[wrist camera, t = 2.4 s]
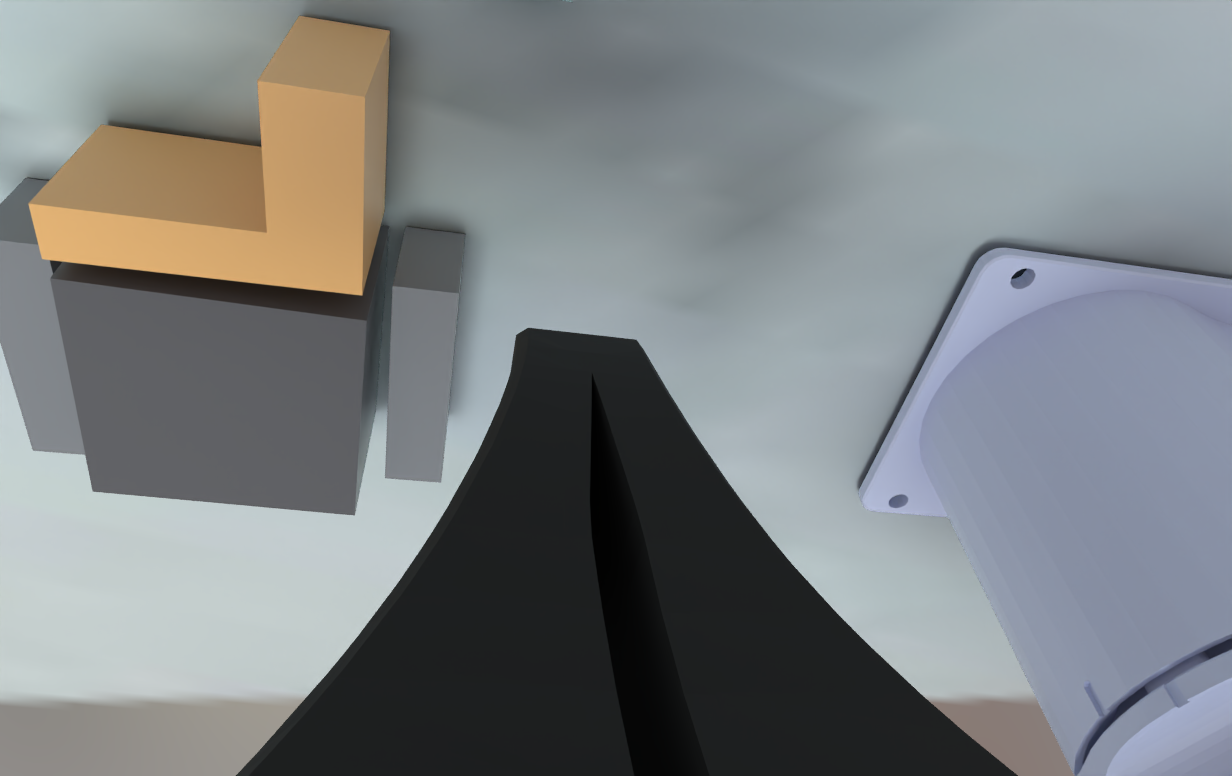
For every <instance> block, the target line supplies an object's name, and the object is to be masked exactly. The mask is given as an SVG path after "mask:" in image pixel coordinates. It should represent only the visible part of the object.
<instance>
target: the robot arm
mask: <svg viewBox="0 0 1232 776" xmlns="http://www.w3.org/2000/svg"><path fill="white" fill-rule="evenodd" d="M1026 268H1027V269H1026ZM1021 269H1026V271H1025V272H1024V273H1023V275H1022V276H1020V277H1018V278H1016V279H1011V278H1012V276H1013V275H1014V274H1015V273H1016V272H1017V271H1019V270H1021ZM858 494H859V497H860V500H861V502H862V505H863V507H864V508H866V509H867V510H870V511H875V512H888V513H900V514H913V515H926V516H938V517H948V518H949V520H950V522H951V524H952V526H953V528H954V530H955V532H956V534H957V536H958V538H959V540H960V542H961V545H962V547H963V549H964V551H965V553H966V555H967V557H968V559H969V561H970V563H971V565H972V567H973V569H974V571H975V573H976V575H977V577H978V579H979V581H980V583H981V586H982V588H983V590H984V592H985V594H986V596H987V598H988V600H989V602H990V604H991V606H992V608H993V610H994V612H995V614H996V616H997V618H998V620H999V622H1000V624H1001V627H1002V629H1003V631H1004V633H1005V635H1006V637H1007V639H1008V641H1009V643H1010V645H1011V647H1012V649H1013V651H1014V653H1015V655H1016V657H1017V659H1018V661H1019V663H1020V665H1021V668H1022V670H1023V672H1024V674H1025V676H1026V678H1027V680H1028V682H1029V684H1030V686H1031V688H1032V690H1033V692H1034V694H1035V696H1036V698H1037V700H1038V702H1039V704H1040V706H1041V709H1042V711H1043V713H1044V715H1045V717H1046V719H1047V721H1048V723H1049V725H1050V727H1051V729H1052V731H1053V733H1054V735H1055V737H1056V739H1057V741H1058V743H1059V745H1060V747H1061V749H1062V752H1063V754H1064V755H1065V758H1066V760H1067V762H1068V764H1069V766H1070V768H1071V770H1072V772H1073V774H1074V776H1232V279H1226V278H1219V277H1212V276H1205V275H1197V274H1190V273H1183V272H1176V271H1169V270H1162V269H1155V268H1148V267H1140V266H1133V265H1126V264H1119V263H1112V262H1105V261H1098V260H1091V259H1083V258H1076V257H1069V256H1062V255H1055V254H1048V253H1041V252H1034V251H1026V250H1019V249H1012V248H996V249H993V250H991V251H988V252H987V253H985V254H984V255H983V256H981V257H980V258H979V260H978V261H977V262H976V264H975V265H974V267H973V269H972V271H971V273H970V275H969V277H968V279H967V281H966V283H965V284H964V286H963V288H962V290H961V292H960V294H959V296H958V298H957V300H956V302H955V304H954V306H953V308H952V310H951V312H950V314H949V316H948V318H947V320H946V321H945V323H944V325H943V327H942V329H941V331H940V333H939V335H938V337H937V339H936V341H935V343H934V345H933V347H932V349H931V351H930V353H929V355H928V357H927V359H926V360H925V362H924V364H923V366H922V368H921V370H920V372H919V374H918V376H917V378H916V380H915V382H914V384H913V386H912V388H911V390H910V392H909V394H908V396H907V397H906V399H905V401H904V403H903V405H902V407H901V409H900V411H899V413H898V415H897V417H896V419H895V421H894V423H893V425H892V427H891V429H890V431H889V433H888V435H887V436H886V438H885V440H884V442H883V444H882V446H881V448H880V450H879V452H878V454H877V456H876V458H875V460H874V462H873V464H872V466H871V468H870V470H869V472H868V473H867V475H866V477H865V479H864V481H863V483H862V485H861V487H860V489H859V493H858ZM896 495H898V496H896ZM894 496H896V497H894ZM236 776H1018V775H1016V774H1015V773H1014V772H1013V771H1011V770H1010V769H1009V768H1008V767H1006V766H1005V765H1004V764H1003V763H1001V762H1000V761H999V760H998V759H997V758H995V757H994V756H993V755H992V754H991V753H989V752H988V751H987V750H986V749H984V748H983V747H982V746H980V745H979V744H978V743H977V742H976V741H974V740H973V739H972V738H971V737H970V736H968V735H967V734H966V733H965V732H964V731H962V730H961V729H960V728H959V727H958V726H957V725H955V724H954V723H953V722H952V721H951V720H950V719H949V718H948V717H946V716H945V715H944V714H943V713H942V712H941V711H940V710H938V709H937V708H936V707H935V706H934V705H933V704H931V703H930V702H929V701H928V700H927V699H926V698H925V697H924V696H922V695H921V694H920V693H919V692H918V691H917V690H916V689H915V688H914V687H913V686H912V685H911V684H910V683H908V682H907V681H906V680H905V679H904V678H903V677H902V676H901V675H900V674H899V673H898V672H897V671H896V670H895V669H894V668H892V667H891V666H890V665H889V664H888V663H887V662H886V661H885V660H884V659H883V658H882V657H881V656H880V655H879V654H878V653H876V652H875V651H874V650H873V649H872V648H871V647H870V646H869V645H868V644H867V643H866V642H865V641H864V640H863V639H862V638H861V637H860V636H859V635H858V634H857V633H856V632H855V631H854V630H853V629H852V628H851V627H850V626H849V625H848V624H847V623H846V622H845V621H844V620H843V619H842V618H841V617H840V616H839V615H838V614H837V613H836V612H835V611H834V610H833V608H832V607H831V606H830V605H829V604H828V603H827V602H826V601H825V600H824V599H823V598H822V596H821V595H820V594H819V593H818V592H817V591H816V590H815V589H814V588H813V587H812V586H811V585H810V583H809V582H808V581H807V580H806V579H805V578H804V577H803V576H802V575H801V574H800V573H799V571H798V570H797V569H796V568H795V567H794V566H793V565H792V564H791V562H790V561H789V560H788V559H787V558H786V556H785V555H784V554H783V553H782V552H781V550H780V549H779V548H778V547H777V546H776V544H775V543H774V542H773V541H772V539H771V538H770V537H769V536H768V534H767V533H766V532H765V530H764V529H763V528H762V527H761V525H760V524H759V523H758V521H757V520H756V519H755V518H754V516H753V515H752V514H751V513H750V511H749V510H748V509H747V507H746V506H745V505H744V503H743V502H742V501H741V499H740V498H739V497H738V495H737V494H736V492H735V491H734V490H733V488H732V487H731V486H730V484H729V483H728V482H727V480H726V479H725V477H724V476H723V474H722V473H721V471H720V470H719V468H718V467H717V466H716V464H715V463H714V461H713V460H712V458H711V457H710V455H709V454H708V453H707V451H706V450H705V448H704V447H703V445H702V444H701V442H700V441H699V439H698V438H697V436H696V435H695V433H694V432H693V430H692V429H691V427H690V426H689V424H688V422H687V421H686V419H685V418H684V416H683V414H682V413H681V411H680V410H679V408H678V406H677V405H676V403H675V402H674V400H673V398H672V397H671V395H670V394H669V392H668V390H667V389H666V387H665V385H664V384H663V382H662V380H661V379H660V377H659V375H658V373H657V372H656V370H655V368H654V367H653V365H652V363H651V362H650V360H649V358H648V356H647V355H646V353H645V351H644V350H643V348H642V347H641V346H640V344H639V343H638V341H637V340H634V339H625V338H616V337H607V336H597V335H588V334H579V333H570V332H561V331H552V330H543V329H534V328H527V329H525V330H524V331H522V332H520V333H519V334H517V335H516V340H515V347H514V354H513V361H512V367H511V373H510V377H509V380H508V383H507V386H506V388H505V391H504V394H503V397H502V399H501V402H500V405H499V407H498V409H497V411H496V414H495V416H494V418H493V420H492V423H491V425H490V427H489V429H488V431H487V434H486V436H485V438H484V440H483V443H482V445H481V447H480V449H479V451H478V453H477V455H476V457H475V459H474V461H473V463H472V464H471V466H470V468H469V470H468V472H467V473H466V475H465V477H464V479H463V480H462V482H461V484H460V486H459V488H458V489H457V491H456V493H455V495H454V497H453V498H452V500H451V502H450V504H449V506H448V507H447V509H446V511H445V512H444V514H443V516H442V517H441V519H440V521H439V522H438V524H437V525H436V527H435V529H434V530H433V532H432V533H431V535H430V536H429V538H428V540H427V541H426V543H425V544H424V546H423V547H422V549H421V550H420V552H419V553H418V555H417V556H416V558H415V559H414V560H413V562H412V563H411V565H410V566H409V568H408V569H407V571H406V572H405V574H404V575H403V577H402V578H401V579H400V581H399V582H398V584H397V585H396V586H395V588H394V589H393V590H392V592H391V593H390V594H389V596H388V597H387V598H386V600H385V601H384V602H383V604H382V605H381V606H380V608H379V609H378V610H377V612H376V613H375V614H374V616H373V617H372V618H371V620H370V621H369V622H368V624H367V625H366V626H365V628H364V629H363V630H362V632H361V633H360V634H359V636H358V637H357V638H356V639H355V641H354V642H353V643H352V644H351V645H350V647H349V648H348V649H347V650H346V652H345V653H344V654H343V655H342V657H341V658H340V659H339V660H338V662H337V663H336V664H335V665H334V666H333V668H332V669H331V670H330V671H329V672H328V674H327V675H326V676H325V677H324V678H323V679H322V680H321V682H320V683H319V684H318V685H317V686H316V687H315V688H314V689H313V691H312V692H311V693H310V694H309V695H308V696H307V697H306V699H305V700H304V701H303V702H302V703H301V704H300V705H299V706H298V708H297V709H296V710H295V711H294V712H293V713H292V714H291V715H290V717H289V718H288V719H287V720H286V721H285V722H284V723H283V725H282V726H281V727H280V728H279V729H278V730H277V731H276V733H275V734H274V735H273V736H272V737H271V738H270V739H269V740H268V742H267V743H266V744H265V745H264V746H263V747H262V748H261V749H260V751H259V752H258V753H257V754H256V755H255V756H254V757H253V758H252V759H251V760H250V761H249V762H248V763H247V764H246V766H245V767H244V768H243V769H242V770H241V771H240V772H239V773H238V774H237V775H236Z"/></svg>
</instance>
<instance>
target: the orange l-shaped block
mask: <svg viewBox="0 0 1232 776" xmlns="http://www.w3.org/2000/svg"><path fill="white" fill-rule="evenodd" d="M389 46H390V31H388V30H382V29H376V28H370V27H364V26H358V25H352V24H346V23H340V22H334V21H328V20H322V19H316V18H310V17H304V16H299V17H298V19H297V20H296V22H295V23H294V25H293V26H292V28H291V29H290V31H289V33H288V34H287V36H286V37H285V39H284V40H283V42H282V43H281V45H280V46H279V48H278V50H277V51H276V53H275V54H274V56H273V57H272V59H271V60H270V62H269V63H268V65H267V67H266V68H265V70H264V71H263V73H262V74H261V76H260V77H259V79H258V80H257V83H258V98H259V114H260V130H261V146H262V147H258V146H251V145H244V144H237V143H230V142H223V141H215V140H208V139H201V138H194V137H187V136H180V135H172V134H165V133H158V132H151V131H144V130H137V129H129V128H122V127H115V126H108V125H100V126H99V127H98V128H97V130H96V131H95V132H94V133H93V134H92V135H91V136H90V137H89V138H88V139H87V140H86V141H85V143H84V144H83V145H82V146H81V147H80V148H79V149H78V150H77V151H76V152H75V153H74V154H73V156H72V157H71V158H70V159H69V160H68V161H67V162H66V163H65V164H64V165H63V166H62V168H61V169H60V170H59V171H58V172H57V173H56V174H55V175H54V176H53V177H52V178H51V179H50V181H49V182H48V183H47V184H46V185H45V186H44V187H43V188H42V189H41V190H40V191H39V192H38V194H37V195H36V196H35V197H34V198H33V199H32V200H31V201H30V202H29V203H28V204H29V208H30V212H31V217H32V221H33V225H34V229H35V233H36V237H37V241H38V245H39V249H40V253H41V257H42V259H45V260H54V261H63V262H71V263H80V264H89V265H98V266H107V267H115V268H124V269H133V270H142V271H151V272H159V273H168V274H177V275H186V276H195V277H204V278H212V279H221V280H230V281H239V282H248V283H256V284H265V285H274V286H283V287H292V288H301V289H309V290H318V291H327V292H336V293H345V294H353V295H363V291H364V287H365V283H366V280H367V276H368V272H369V268H370V264H371V261H372V257H373V253H374V249H375V245H376V242H377V238H378V234H379V230H380V226H381V223H382V219H383V215H384V211H385V178H386V145H387V112H388V79H389Z"/></svg>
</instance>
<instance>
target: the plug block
mask: <svg viewBox="0 0 1232 776" xmlns="http://www.w3.org/2000/svg"><path fill="white" fill-rule="evenodd" d="M388 240H389V226H382V225H381V226H380V230H379V234H378V238H377V242H376V245H375V249H374V253H373V257H372V261H371V264H370V268H369V272H368V276H367V280H366V283H365V287H364V291H363V295H353V294H345V293H336V292H327V291H318V290H309V289H301V288H292V287H283V286H274V285H265V284H256V283H248V282H239V281H230V280H221V279H212V278H204V277H195V276H186V275H177V274H168V273H159V272H151V271H142V270H133V269H124V268H115V267H107V266H98V265H89V264H80V263H71V262H62V263H61V265H60V266H59V267H58V269H57V270H56V271H55V273H54V274H53V275H52V276H51V278H50V281H51V286H52V291H53V296H54V301H55V306H56V311H57V316H58V321H59V326H60V331H61V336H62V341H63V346H64V351H65V356H66V361H67V366H68V370H69V375H70V380H71V385H72V390H73V395H74V400H75V405H76V410H77V415H78V420H79V425H80V430H81V435H82V440H83V445H84V450H85V455H86V460H87V465H88V470H89V475H90V480H91V485H92V490H93V491H94V492H104V493H115V494H126V495H137V496H148V497H159V498H170V499H181V500H192V501H203V502H214V503H225V504H236V505H247V506H258V507H269V508H280V509H291V510H302V511H313V512H323V513H334V514H345V515H355V511H356V507H357V502H358V497H359V492H360V487H361V482H362V477H363V472H364V467H365V462H366V457H367V452H368V447H369V442H370V437H371V432H372V427H373V422H374V417H375V412H376V401H377V388H378V374H379V361H380V347H381V334H382V321H383V307H384V294H385V280H386V267H387V253H388Z"/></svg>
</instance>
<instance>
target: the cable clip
mask: <svg viewBox="0 0 1232 776" xmlns="http://www.w3.org/2000/svg"><path fill="white" fill-rule="evenodd" d="M48 182H49V181H45V180H37V179H30V178H25V179H24V180H23V181H22V182H21V183H20V184H19V185H18V187H17V188H16V189H15V190H14V191H13V192H12V193H11V194H10V195H9V196H8V197H7V198H6V199H5V200H4V201H3V202H2V203H1V204H0V343H1V346H2V349H3V353H4V356H5V359H6V363H7V366H8V369H9V372H10V376H11V379H12V382H13V386H14V389H15V392H16V396H17V399H18V402H19V406H20V409H21V412H22V416H23V419H24V422H25V426H26V429H27V432H28V436H29V439H30V442H31V446H32V449H33V451H45V452H58V453H71V454H84V455H85V450H84V445H83V440H82V435H81V430H80V425H79V420H78V415H77V410H76V405H75V400H74V395H73V390H72V385H71V380H70V375H69V370H68V366H67V361H66V356H65V351H64V346H63V341H62V336H61V331H60V326H59V321H58V316H57V311H56V306H55V301H54V296H53V291H52V286H51V281H50V278H51V276H52V275H53V274H54V273H55V271H56V270H57V269H58V267H59V266H60V265H61V263H62V262H63V261H54V260H45V259H42V257H41V253H40V249H39V245H38V241H37V237H36V233H35V229H34V225H33V221H32V217H31V212H30V208H29V204H28V203H29V202H30V201H31V200H32V199H33V198H34V197H35V196H36V195H37V194H38V192H39V191H40V190H41V189H42V188H43V187H44V186H45V185H46V184H47V183H48ZM464 244H465V234H459V233H452V232H444V231H436V230H428V229H420V228H413V227H405V231H404V236H403V240H402V245H401V249H400V254H399V259H398V263H397V268H396V272H395V277H394V281H393V286H392V312H391V338H390V364H389V390H388V416H387V441H386V467H385V478H390V479H403V480H416V481H428V482H441V477H442V468H443V459H444V449H445V440H446V431H447V422H448V412H449V401H450V391H451V380H452V370H453V359H454V349H455V338H456V328H457V317H458V307H459V296H460V286H461V275H462V265H463V254H464Z"/></svg>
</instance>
